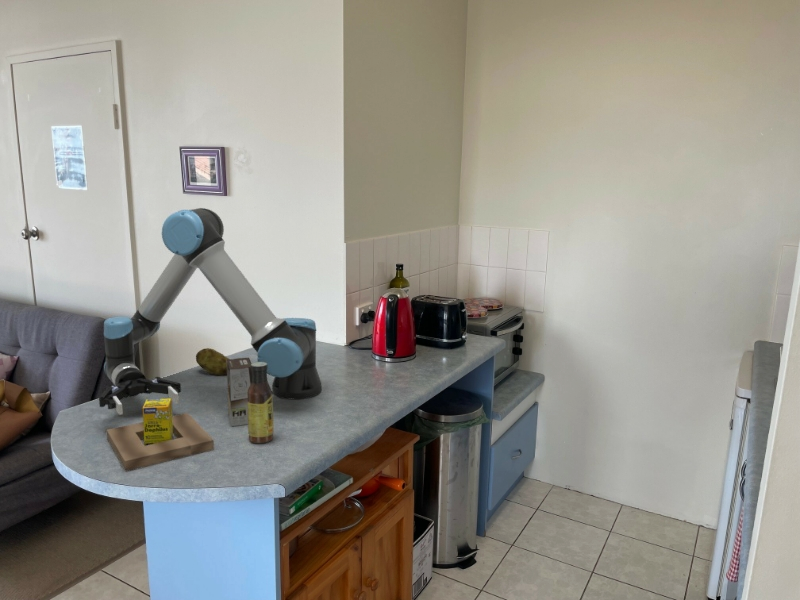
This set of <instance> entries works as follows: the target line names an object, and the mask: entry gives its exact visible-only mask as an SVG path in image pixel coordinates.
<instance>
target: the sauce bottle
mask: <svg viewBox="0 0 800 600" xmlns="http://www.w3.org/2000/svg"><path fill="white" fill-rule="evenodd" d="M251 363H252V364H251V371H252V383H251V385H250V387H249V389H248V393H247V394H248V401H247V407H248V424H247V428H248V430H247V432H248V440H249V441H250V443H253V444H265V443H268V442H270V441H271V440H273V437H274V404H273V403H274V401H273V399H274V397H273V395H274V394H273V393H272V387H271V386H270V383H269V380H268V374H267V369H268V368H267V363H265V362H258V361H256V362H251Z"/></svg>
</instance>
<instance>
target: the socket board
mask: <svg viewBox="0 0 800 600" xmlns="http://www.w3.org/2000/svg"><path fill="white" fill-rule="evenodd" d="M172 421H173V436H175V438H174V439H173V440H169V441H164V442H160V443H156V444H151V445H147V446H144V442H142V441H144V427H143V421H142V422H137V423H132V424H126V425H122V426H117V427H113V428H108V429H106V439H107V441H108V443H109V444H110V446H111V448H112V450H113V451H114V454H115V456H116V457H117V459H118V461H119V463H120V464H121V466H122V468H123V467H124V468H123V469H124V471H125V472H130V471H133V469H134V470H137V468H138V469H142V468H146V467H149V466H155V465H158V464H161V463H165V462H170V461H174V460H176V459H177V460H178V459H181V458H182V459H183V458H185V457H189V456H193V455H197V454H202V453H205V452H209V451H213V450H215V447H214V446H215V444H214V442H215V441H214V440H215V439H214V438H212V436H210V435H209V434H208V433H207V431H206V430H205V429H204V428H203V427H202V426H201V425H200V424H199V423H198V421H196V420H195V419H194V418H193V417H192V416H191V415H190V413H188V412H186V413H185V412H184V413H181V414H175V415H172ZM141 467H142V468H141ZM129 470H130V471H129Z"/></svg>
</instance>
